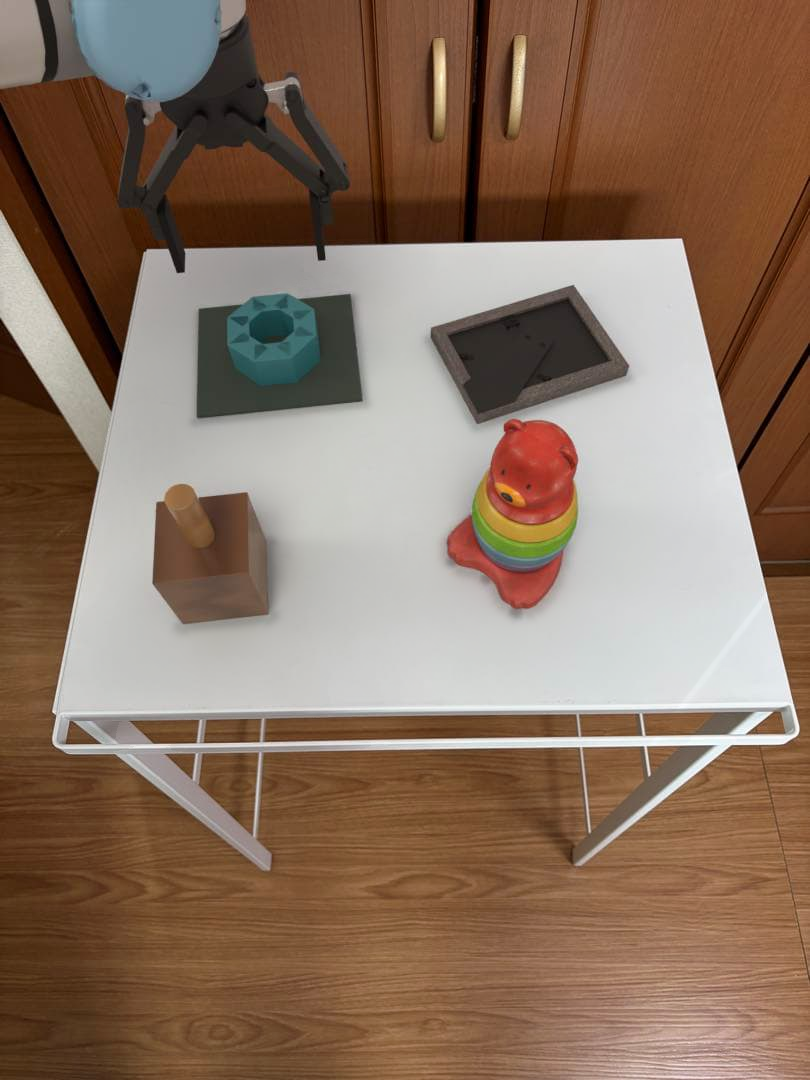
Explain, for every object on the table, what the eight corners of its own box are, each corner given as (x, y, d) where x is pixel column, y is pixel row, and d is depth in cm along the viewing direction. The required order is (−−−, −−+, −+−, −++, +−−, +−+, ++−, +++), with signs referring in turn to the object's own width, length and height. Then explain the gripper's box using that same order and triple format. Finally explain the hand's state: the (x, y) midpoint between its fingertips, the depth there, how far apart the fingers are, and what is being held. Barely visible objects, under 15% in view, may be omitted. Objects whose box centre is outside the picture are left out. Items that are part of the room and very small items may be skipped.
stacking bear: (437, 549, 73) (442, 442, 57) (503, 484, 76) (525, 366, 60) (524, 619, 69) (555, 525, 53) (589, 547, 72) (636, 439, 57)
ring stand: (182, 624, 69) (124, 547, 56) (184, 549, 73) (130, 459, 60) (268, 614, 70) (231, 535, 56) (266, 540, 73) (230, 449, 60)
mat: (197, 418, 81) (196, 416, 80) (199, 311, 88) (198, 308, 88) (362, 401, 81) (362, 398, 81) (350, 296, 89) (350, 293, 89)
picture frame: (477, 424, 80) (626, 375, 83) (478, 412, 78) (630, 363, 81) (430, 337, 86) (571, 294, 88) (430, 324, 84) (574, 281, 87)
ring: (235, 389, 82) (227, 364, 79) (234, 324, 87) (227, 298, 83) (322, 380, 82) (318, 355, 79) (317, 316, 87) (312, 290, 83)
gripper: (362, -20, 56) (374, 220, 75) (27, 4, 55) (124, 242, 74) (372, 34, 53) (382, 272, 71) (13, 61, 52) (119, 296, 70)
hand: (251, 257), depth 73 cm, fingers open, 13 cm apart
